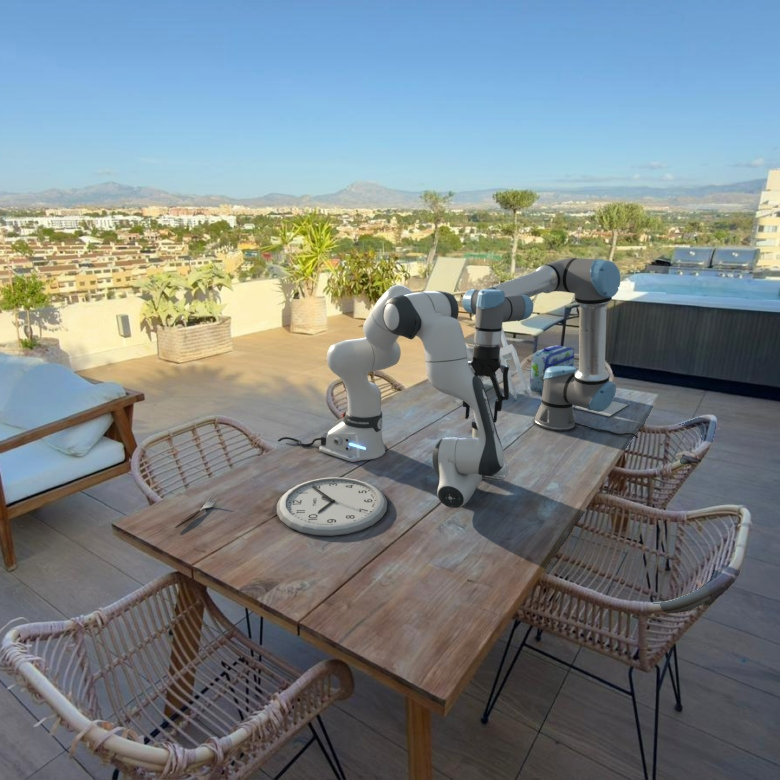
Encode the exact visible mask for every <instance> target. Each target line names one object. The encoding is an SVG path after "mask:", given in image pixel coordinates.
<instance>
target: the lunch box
mask: <svg viewBox="0 0 780 780" xmlns="http://www.w3.org/2000/svg"><path fill="white" fill-rule="evenodd" d="M574 363H575V348H573V347H571V346H570V347H568V346H563V345H551V346H548V347H544V348H543V349H539V350H536V351H535V352H534V354H533V356H532V358H531V363H530V374H529V391H532V392H536V393H540V394H542V391H543V381H544V379H543V378H544V375H545V371H546V369H547V368H549V367H555V366H571V367H574Z"/></svg>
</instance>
